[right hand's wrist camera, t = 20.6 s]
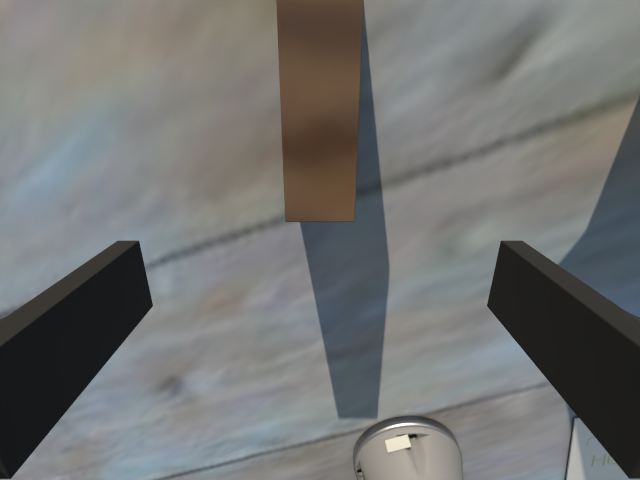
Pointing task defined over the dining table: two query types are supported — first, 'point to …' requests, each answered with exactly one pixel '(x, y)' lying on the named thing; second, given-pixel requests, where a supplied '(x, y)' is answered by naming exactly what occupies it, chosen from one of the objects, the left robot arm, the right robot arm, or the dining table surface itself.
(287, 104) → the bar
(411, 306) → the dining table surface
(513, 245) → the right robot arm
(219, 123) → the dining table surface
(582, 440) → the grey wooden board
